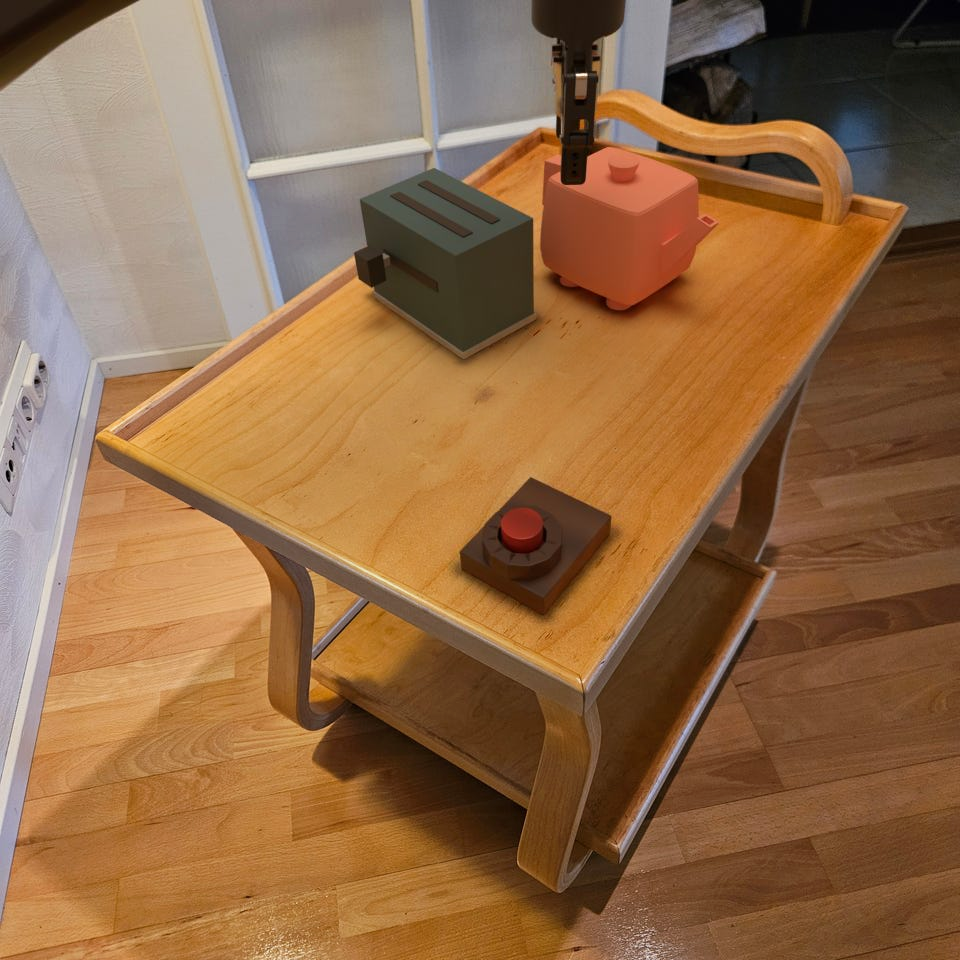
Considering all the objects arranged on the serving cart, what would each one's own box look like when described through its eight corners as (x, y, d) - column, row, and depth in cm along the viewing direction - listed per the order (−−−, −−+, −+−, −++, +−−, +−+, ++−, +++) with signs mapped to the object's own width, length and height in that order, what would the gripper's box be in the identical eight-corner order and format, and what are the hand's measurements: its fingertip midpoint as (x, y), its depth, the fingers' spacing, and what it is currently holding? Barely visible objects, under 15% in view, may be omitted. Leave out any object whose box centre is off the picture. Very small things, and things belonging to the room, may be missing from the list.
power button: (527, 560, 62) (527, 545, 61) (493, 542, 64) (492, 527, 63) (550, 533, 64) (551, 518, 63) (517, 516, 66) (516, 501, 64)
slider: (371, 288, 86) (366, 261, 84) (358, 279, 88) (353, 252, 86) (395, 276, 88) (392, 249, 86) (382, 267, 89) (378, 241, 87)
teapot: (732, 292, 92) (756, 170, 82) (661, 343, 86) (678, 218, 76) (582, 227, 104) (586, 112, 94) (511, 268, 98) (508, 151, 88)
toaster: (463, 360, 86) (455, 255, 77) (372, 296, 95) (356, 197, 86) (536, 319, 90) (536, 216, 82) (443, 262, 100) (434, 164, 91)
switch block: (543, 616, 63) (543, 584, 60) (460, 569, 67) (457, 537, 64) (610, 533, 69) (613, 500, 66) (530, 493, 72) (530, 461, 69)
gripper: (529, -67, 69) (527, 124, 81) (534, -5, 60) (531, 200, 72) (620, -70, 69) (604, 122, 81) (639, -9, 59) (618, 199, 71)
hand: (569, 159), depth 76 cm, fingers open, 8 cm apart
